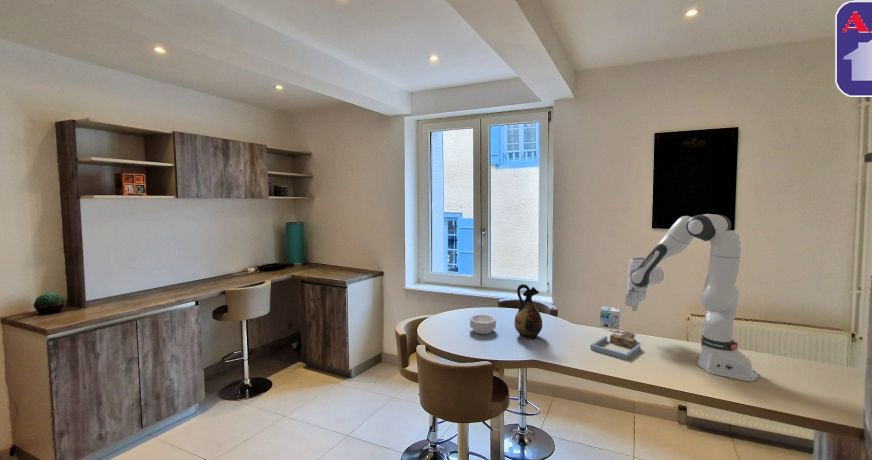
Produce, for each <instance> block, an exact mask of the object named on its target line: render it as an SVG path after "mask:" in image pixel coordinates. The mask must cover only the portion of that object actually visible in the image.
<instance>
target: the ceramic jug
mask: <svg viewBox="0 0 872 460" xmlns="http://www.w3.org/2000/svg"><path fill="white" fill-rule="evenodd" d="M521 289H525V290H524V292H523V293H522V295H521ZM516 294H517V297H518V300H519V305H518V306H519V307H518V310H517V312H516V314H515V317H514V323H513V324H514V328H515V330H516V331H517V333H518V334H519V335H518V336H519V337H520V338H522V339H525V340H536V339H537V338H538V335H539V334H540V332H541V331H542V329H543V319H542V316H541V313H540V311H539V309H538V308H537V306H536V305H535V303H534V302H533V299H532V298H533V296H535V295H538V294H540V291H538V290H537V289H536V287H534V286H532V287H531V288H530V287H529V286H528V285H527V284H525V283H522V284H519V285H518V286H517V289H516ZM522 296H524V297H525V299H524V300H523V297H522Z"/></svg>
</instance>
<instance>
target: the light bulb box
mask: <svg viewBox="0 0 872 460" xmlns="http://www.w3.org/2000/svg"><path fill="white" fill-rule="evenodd" d="M599 313H600V315H599V327H601V328H602V327H603V328H609V329H614V330H619V329H620V320H621V319H620V318H621V309H620V308H618V307H617V308H616V307H609V306H601V308H600V310H599Z"/></svg>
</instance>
